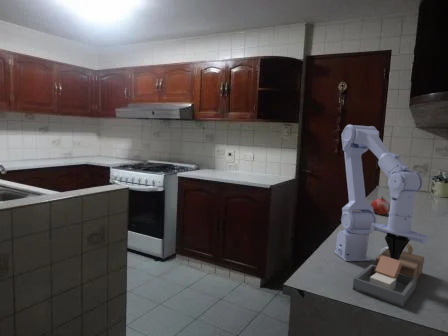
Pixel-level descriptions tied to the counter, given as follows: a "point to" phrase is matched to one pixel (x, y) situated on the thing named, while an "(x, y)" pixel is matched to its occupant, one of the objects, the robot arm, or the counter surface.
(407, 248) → the sprinkles bottle
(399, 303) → the box
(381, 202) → the fruit
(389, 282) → the cream tile
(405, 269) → the walnut board
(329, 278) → the counter surface
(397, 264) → the terracotta tile
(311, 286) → the counter surface
